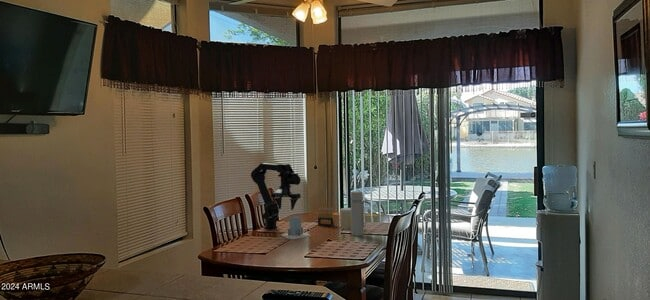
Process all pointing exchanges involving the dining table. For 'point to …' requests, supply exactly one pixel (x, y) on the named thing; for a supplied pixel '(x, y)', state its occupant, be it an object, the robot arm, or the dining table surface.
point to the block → (295, 225)
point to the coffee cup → (345, 218)
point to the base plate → (296, 235)
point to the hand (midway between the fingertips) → (286, 209)
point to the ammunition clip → (326, 217)
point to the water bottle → (357, 213)
